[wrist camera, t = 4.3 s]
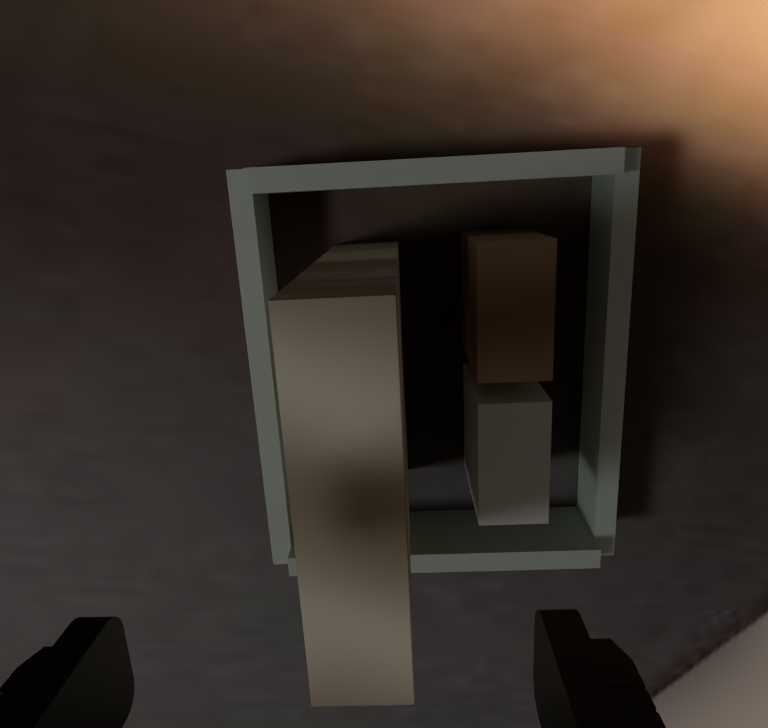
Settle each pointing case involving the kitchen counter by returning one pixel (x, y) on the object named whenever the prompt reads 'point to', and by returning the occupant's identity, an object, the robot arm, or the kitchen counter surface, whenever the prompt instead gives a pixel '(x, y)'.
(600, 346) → the bin
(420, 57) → the kitchen counter surface
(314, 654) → the birch sheet
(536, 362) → the walnut offcut
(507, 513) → the grey offcut
